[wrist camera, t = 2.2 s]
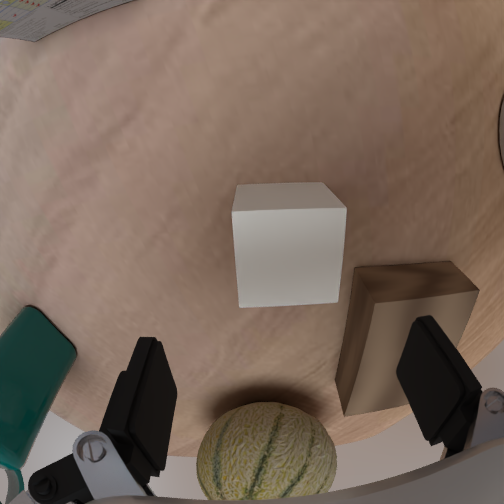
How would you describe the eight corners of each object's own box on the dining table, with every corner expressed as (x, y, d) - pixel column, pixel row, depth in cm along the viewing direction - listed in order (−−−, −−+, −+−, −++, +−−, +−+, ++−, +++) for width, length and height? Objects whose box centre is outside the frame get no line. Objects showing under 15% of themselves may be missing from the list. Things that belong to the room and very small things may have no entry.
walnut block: (450, 261, 23) (479, 289, 19) (414, 367, 29) (429, 398, 25) (354, 267, 23) (375, 303, 19) (334, 380, 30) (343, 416, 25)
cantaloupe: (335, 423, 34) (354, 522, 21) (235, 446, 36) (232, 538, 23) (306, 359, 28) (330, 501, 15) (179, 391, 30) (156, 512, 17)
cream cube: (322, 181, 21) (346, 207, 15) (319, 257, 23) (337, 302, 18) (237, 184, 21) (231, 211, 15) (242, 260, 23) (239, 307, 18)
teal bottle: (9, 325, 27) (-74, 453, 8) (31, 298, 25) (-75, 455, 6) (61, 377, 31) (2, 512, 11) (92, 360, 29) (24, 528, 9)
